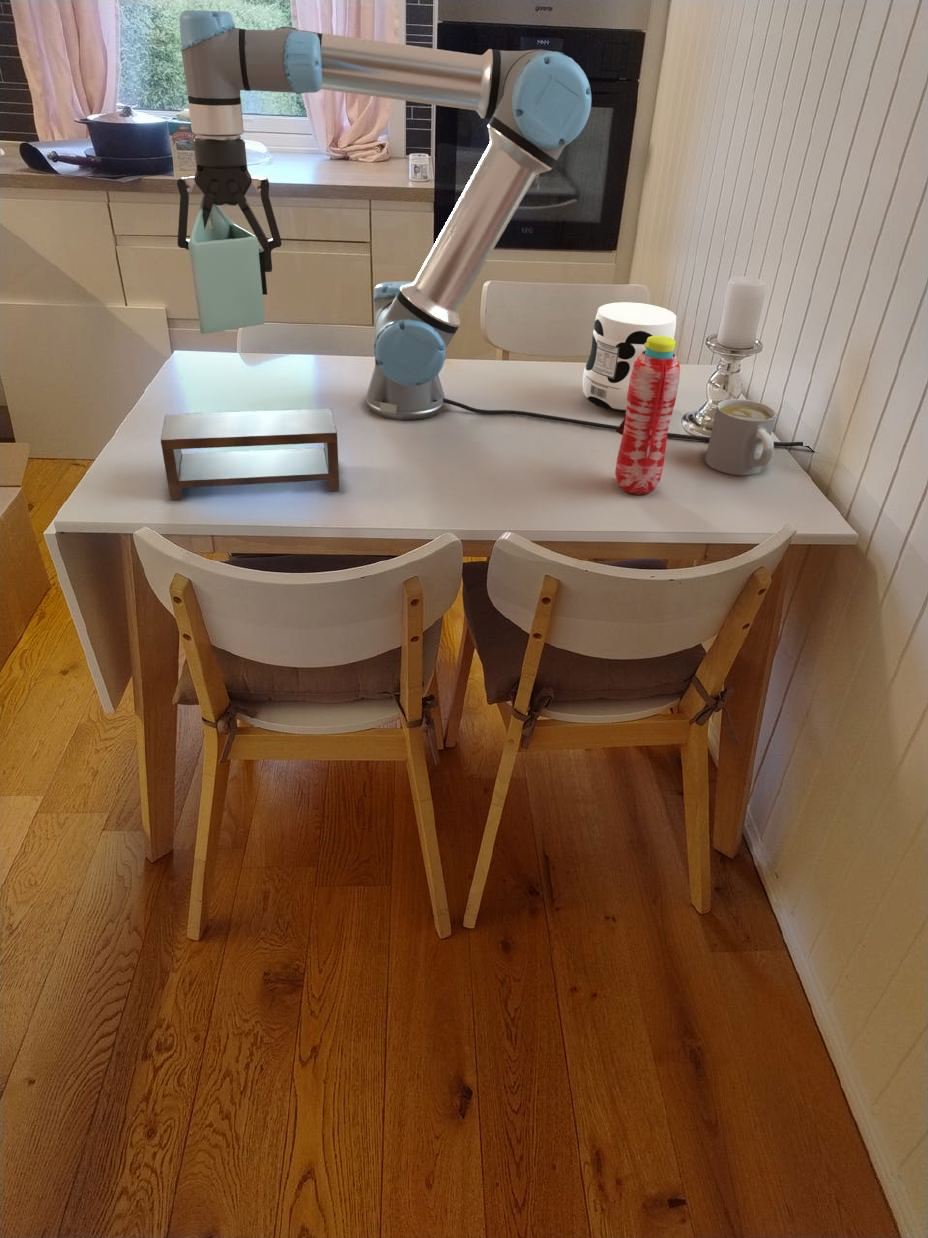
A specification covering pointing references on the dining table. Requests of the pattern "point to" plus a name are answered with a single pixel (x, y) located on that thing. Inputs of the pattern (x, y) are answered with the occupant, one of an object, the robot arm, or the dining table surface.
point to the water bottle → (647, 416)
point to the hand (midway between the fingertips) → (235, 292)
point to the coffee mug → (741, 437)
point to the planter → (225, 273)
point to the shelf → (249, 464)
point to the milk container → (621, 349)
